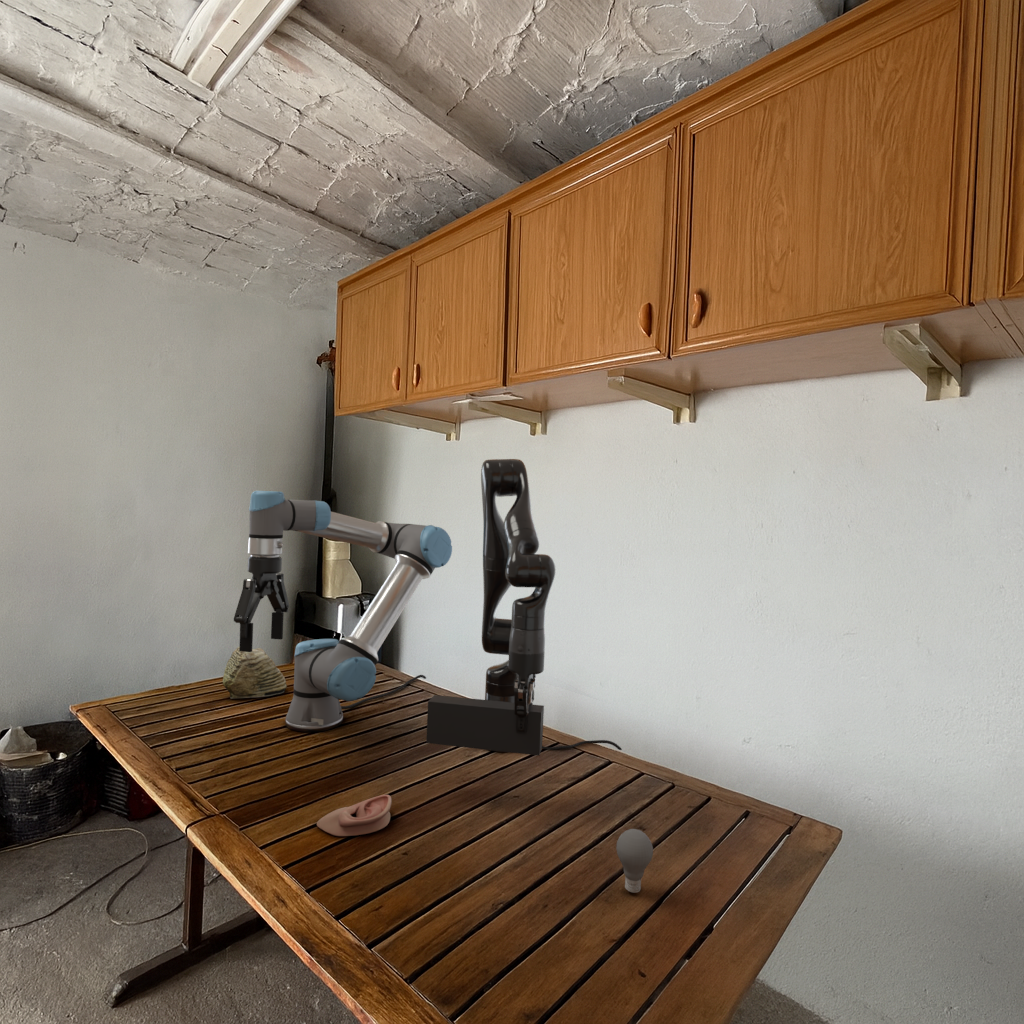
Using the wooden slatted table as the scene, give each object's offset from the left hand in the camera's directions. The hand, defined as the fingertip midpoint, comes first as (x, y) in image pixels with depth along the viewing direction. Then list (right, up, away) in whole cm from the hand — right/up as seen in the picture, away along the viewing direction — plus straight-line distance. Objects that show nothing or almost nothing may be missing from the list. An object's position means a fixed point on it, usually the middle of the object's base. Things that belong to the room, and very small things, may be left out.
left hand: (261, 645), depth 150 cm
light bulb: (+80, -32, -45) cm, 97 cm away
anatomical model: (+29, -29, -27) cm, 49 cm away
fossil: (-21, -26, +48) cm, 58 cm away
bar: (+54, -18, -15) cm, 59 cm away
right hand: (+62, -14, -17) cm, 66 cm away
